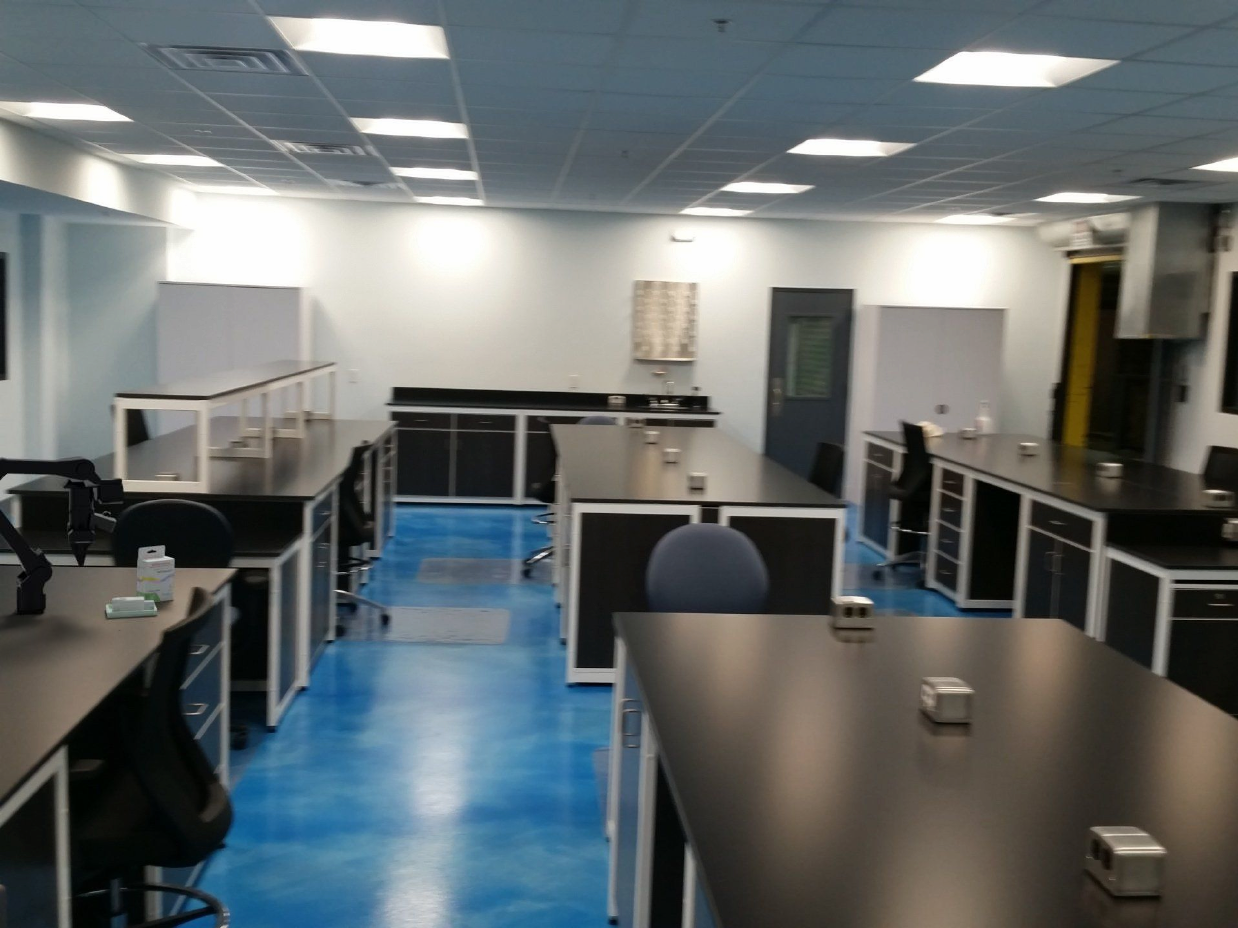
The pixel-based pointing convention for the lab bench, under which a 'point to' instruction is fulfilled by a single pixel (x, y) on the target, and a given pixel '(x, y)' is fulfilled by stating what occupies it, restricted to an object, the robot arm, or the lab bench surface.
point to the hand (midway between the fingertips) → (80, 562)
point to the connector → (130, 604)
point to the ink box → (155, 574)
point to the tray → (131, 612)
